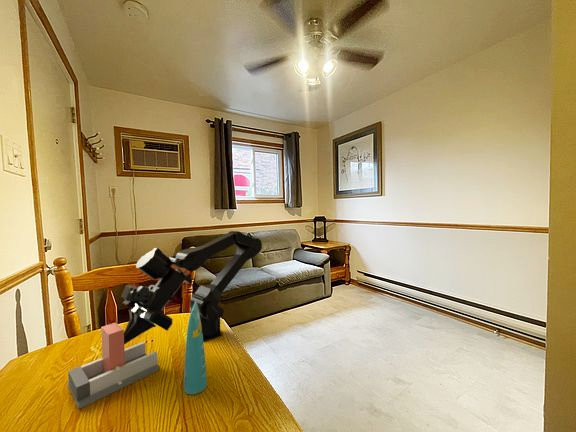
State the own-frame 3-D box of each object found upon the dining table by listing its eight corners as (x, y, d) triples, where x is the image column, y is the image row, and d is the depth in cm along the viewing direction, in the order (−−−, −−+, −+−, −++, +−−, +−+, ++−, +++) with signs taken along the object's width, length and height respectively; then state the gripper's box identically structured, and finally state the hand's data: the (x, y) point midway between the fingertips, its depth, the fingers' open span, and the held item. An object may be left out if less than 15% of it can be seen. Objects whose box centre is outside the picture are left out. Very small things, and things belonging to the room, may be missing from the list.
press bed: (142, 354, 70) (142, 339, 70) (159, 369, 63) (158, 353, 63) (67, 385, 58) (67, 368, 58) (78, 409, 51) (77, 389, 51)
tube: (207, 395, 54) (205, 308, 53) (183, 401, 52) (180, 312, 52) (206, 374, 61) (204, 297, 60) (185, 379, 59) (182, 300, 59)
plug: (117, 365, 63) (115, 322, 63) (125, 374, 59) (123, 329, 59) (102, 370, 61) (101, 326, 61) (110, 381, 57) (108, 334, 57)
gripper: (130, 267, 71) (82, 318, 63) (158, 278, 59) (103, 343, 51) (159, 287, 77) (119, 337, 69) (190, 301, 65) (146, 362, 57)
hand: (121, 343), depth 61 cm, fingers closed, pressing on plug
